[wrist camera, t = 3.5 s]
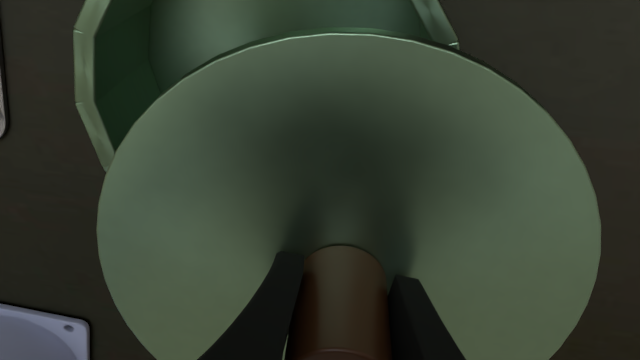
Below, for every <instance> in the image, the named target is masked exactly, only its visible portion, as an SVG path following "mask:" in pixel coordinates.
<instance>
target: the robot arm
mask: <svg viewBox="0 0 640 360" xmlns="http://www.w3.org/2000/svg"><path fill="white" fill-rule="evenodd" d="M303 269H304V255H299V254H294V253H289V252H284V251H280V252H278V253H276V256H275V259H274V262H273V264H272V266H271V268H270V270H269V272H268V274H267V275H266V277H265V279H264V280H263V282H262V284H261V285H260V287H259V288H258V290H257V291H256V293H255V294H254V295H253V297H252V298H251V300H250V301H249V303H248V304H247V305H246V307H245V308H244V309H243V310H242V312H241V313H240V314H239V315H238V317H237V318H236V319H235V320H234V321H233V323H232V324H231V325H230V326H229V327H228V329H227V330H226V331H225V332H224V333H223V334H222V335H221V336H220V337H219V338H218V340H217V341H216V342H215V343H214V344H213V345H212V346H211V347H210V348H209V349H208V350H207V351H206V352H205V353H204V354H202V355H201V356H200V357H199V358H198V359H197V360H282V358H283V352H284V348H285V344H286V340H287V336H288V331H289V326H290V322H291V319H292V315H293V311H294V307H295V304H296V300H297V296H298V292H299V288H300V284H301V280H302V276H303ZM388 308H389V322H390V335H391V348H392V360H466V359H465V357H464V356H463V354H462V352H461V351H460V349H459V348H458V346H457V345H456V343H455V341H454V340H453V338H452V336H451V335H450V333H449V332H448V330H447V328H446V327H445V325H444V323H443V322H442V320H441V318H440V316H439V315H438V313H437V311H436V309H435V307H434V306H433V304H432V302H431V300H430V298H429V297H428V295H427V293H426V291H425V289H424V288H423V286H422V284H421V282H420V281H419V279H416V278H411V277H406V276H401V275H397V274H396V275H395V277H394V280H393V283H392V285H391V288H390V291H389V294H388ZM0 360H90V329H89V325H88V323H87V322H86V321H84V320H81V319H76V318H71V317H66V316H61V315H56V314H51V313H46V312H41V311H36V310H31V309H26V308H21V307H16V306H11V305H6V304H1V303H0Z"/></svg>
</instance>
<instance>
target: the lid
mask: <svg viewBox="0 0 640 360" xmlns="http://www.w3.org/2000/svg"><path fill="white" fill-rule="evenodd" d="M97 241H98V252H99V258H100V262H101V266H102V270H103V274H104V278H105V282H106V284H107V286H108V289H109V291H110V294H111V296H112V298H113V301H114V303H115V305H116V307H117V308H118V310H119V312H120V314H121V315H122V317H123V319H124V320H125V322H126V324H127V325H128V327H129V328H130V329H131V331H132V332H133V333H134V334H135V336H136V337H137V338H138V340H139V341H140V342H141V344H142V345H143V346H144V347H145V348H146V349H147V350H148V351H149V352H150V353H151V354H152V355H153V356H154V357H155V358H156V359H157V360H197V359H198V358H199V357H200V356H201V355H202V354H204V353H205V352H206V351H207V350H208V349H209V348H210V347H211V346H212V345H213V344H214V343H215V342H216V341H217V340H218V338H219V337H220V336H221V335H222V334H223V333H224V332H225V331H226V330H227V329H228V327H229V326H230V325H231V324H232V323H233V321H234V320H235V319H236V318H237V317H238V315H239V314H240V313H241V312H242V310H243V309H244V308H245V307H246V305H247V304H248V303H249V301H250V300H251V298H252V297H253V295H254V294H255V293H256V291H257V290H258V288H259V287H260V285H261V284H262V282H263V280H264V279H265V277H266V275H267V274H268V272H269V270H270V268H271V266H272V264H273V262H274V259H275V256H276V253H278V252H280V251H284V252H289V253H294V254H299V255H304V269H303V276H302V280H301V284H300V288H299V292H298V296H297V300H296V304H295V307H294V311H293V315H292V319H291V322H290V326H289V331H288V336H287V340H286V344H285V348H284V352H283V358H282V360H392V348H391V335H390V322H389V308H388V294H389V291H390V288H391V285H392V283H393V280H394V277H395V275H396V274H397V275H401V276H406V277H411V278H416V279H419V281H420V282H421V284H422V286H423V288H424V289H425V291H426V293H427V295H428V297H429V298H430V300H431V302H432V304H433V306H434V307H435V309H436V311H437V313H438V315H439V316H440V318H441V320H442V322H443V323H444V325H445V327H446V328H447V330H448V332H449V333H450V335H451V336H452V338H453V340H454V341H455V343H456V345H457V346H458V348H459V349H460V351H461V352H462V354H463V356H464V357H465V359H466V360H548V359H549V358H550V357H551V356H552V355H553V354H554V353H555V352H556V351H557V350H558V349H559V348H560V347H561V345H562V344H563V343H564V341H565V340H566V338H567V337H568V336H569V334H570V333H571V332H572V330H573V329H574V328H575V326H576V324H577V322H578V320H579V319H580V317H581V315H582V313H583V311H584V309H585V307H586V305H587V303H588V301H589V298H590V295H591V292H592V289H593V286H594V284H595V281H596V277H597V271H598V265H599V260H600V254H601V221H600V215H599V210H598V204H597V198H596V194H595V191H594V188H593V186H592V183H591V180H590V177H589V175H588V172H587V169H586V166H585V165H584V163H583V161H582V159H581V158H580V156H579V154H578V152H577V151H576V149H575V147H574V145H573V144H572V142H571V140H570V139H569V137H568V136H567V135H566V134H565V132H564V131H563V130H562V129H561V128H560V126H559V125H558V124H557V123H556V122H555V120H554V119H553V118H552V117H551V115H550V114H549V113H548V112H547V111H546V109H545V108H544V107H543V106H542V105H541V104H540V103H539V102H538V101H537V100H536V99H534V98H533V97H532V96H531V95H530V94H529V93H528V92H526V91H525V90H524V89H523V88H522V87H521V86H520V85H519V84H517V83H516V82H515V81H513V80H512V79H510V78H509V77H507V76H506V75H504V74H503V73H501V72H499V71H498V70H496V69H495V68H493V67H492V66H490V65H489V64H487V63H486V62H484V61H482V60H479V59H477V58H475V57H473V56H471V55H468V54H466V53H464V52H462V51H460V50H458V49H455V48H453V47H451V46H448V45H445V44H442V43H438V42H435V41H432V40H428V39H425V38H422V37H418V36H415V35H412V34H406V33H399V32H393V31H387V30H381V29H374V28H349V27H327V28H318V29H308V30H299V31H291V32H287V33H283V34H279V35H274V36H270V37H266V38H262V39H258V40H254V41H251V42H249V43H246V44H244V45H241V46H239V47H236V48H234V49H231V50H229V51H226V52H224V53H221V54H219V55H217V56H215V57H214V58H212V59H210V60H208V61H207V62H205V63H203V64H201V65H200V66H198V67H196V68H195V69H193V70H191V71H189V72H188V73H186V74H185V75H184V76H183V77H181V78H180V79H179V80H178V81H176V82H175V83H174V84H173V85H171V86H170V87H169V88H168V89H166V90H165V91H164V92H163V93H161V94H160V95H159V96H158V98H157V99H156V100H155V101H154V102H153V103H152V104H151V105H150V106H149V107H148V108H147V110H146V111H145V112H144V113H143V114H142V115H141V116H140V117H139V118H138V119H137V120H136V122H135V123H134V124H133V125H132V127H131V128H130V130H129V131H128V133H127V134H126V136H125V137H124V139H123V140H122V142H121V144H120V145H119V147H118V148H117V150H116V152H115V154H114V157H113V159H112V161H111V164H110V166H109V168H108V170H107V173H106V175H105V178H104V182H103V186H102V191H101V195H100V199H99V203H98V216H97Z"/></svg>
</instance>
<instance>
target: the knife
mask: <svg viewBox="0 0 640 360" xmlns="http://www.w3.org/2000/svg"><path fill="white" fill-rule="evenodd" d="M8 125H9V116H8V106H7V95H6V84H5V74H4V63H3V53H2V42H1V31H0V138H1V137H2V136H3V135H4V134H5V133H6V131H7V129H8Z"/></svg>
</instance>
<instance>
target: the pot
mask: <svg viewBox="0 0 640 360" xmlns="http://www.w3.org/2000/svg"><path fill="white" fill-rule="evenodd" d="M327 27H349V28H374V29H381V30H387V31H393V32H399V33H406V34H412V35H415V36H418V37H422V38H425V39H428V40H432V41H435V42H438V43H442V44H445V45H448V46H451V47H453V48H455V49H458V50H460V43H459V41H458V37H457V35H456V33H455V31H454V29H453V27H452V25H451V23H450V21H449V19H448V17H447V15H446V13H445V11H444V9H443V7H442V5H441V4H440V2H439V0H85V1H84V4H83V6H82V8H81V10H80V13H79V15H78V17H77V20H76V22H75V24H74V29H73V56H74V97H75V105H76V107H77V110H78V112H79V114H80V117H81V119H82V121H83V124H84V126H85V128H86V130H87V133H88V135H89V137H90V140H91V142H92V144H93V147H94V149H95V151H96V153H97V156H98V158H99V160H100V163H101V165H102V167H103V169H104V170H105V171H106V172H107V170H108V168H109V166H110V164H111V161H112V159H113V157H114V154H115V152H116V150H117V148H118V147H119V145H120V144H121V142H122V140H123V139H124V137H125V136H126V134H127V133H128V131H129V130H130V128H131V127H132V125H133V124H134V123H135V122H136V120H137V119H138V118H139V117H140V116H141V115H142V114H143V113H144V112H145V111H146V110H147V108H148V107H149V106H150V105H151V104H152V103H153V102H154V101H155V100H156V99H157V98H158V96H159V95H160V94H161V93H163V92H164V91H165V90H166V89H168V88H169V87H170V86H171V85H173V84H174V83H175V82H176V81H178V80H179V79H180V78H181V77H183V76H184V75H185V74H186V73H188V72H189V71H191V70H193V69H195V68H196V67H198V66H200V65H201V64H203V63H205V62H207V61H208V60H210V59H212V58H214V57H215V56H217V55H219V54H221V53H224V52H226V51H229V50H231V49H234V48H236V47H239V46H241V45H244V44H246V43H249V42H251V41H254V40H258V39H262V38H266V37H270V36H274V35H279V34H283V33H287V32H291V31H299V30H308V29H318V28H327Z"/></svg>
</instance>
